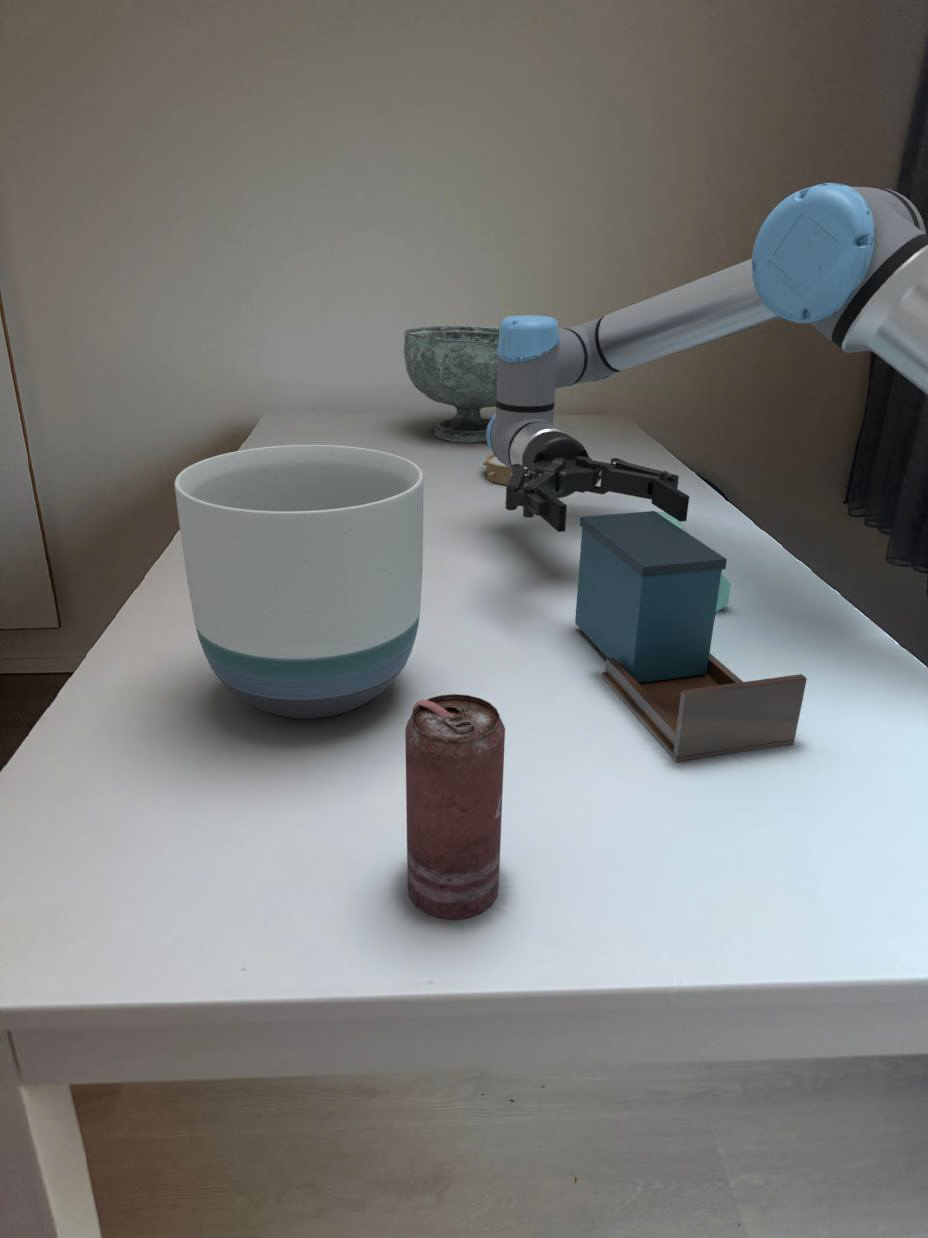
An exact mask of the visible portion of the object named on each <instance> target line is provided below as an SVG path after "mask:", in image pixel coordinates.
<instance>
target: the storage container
mask: <svg viewBox="0 0 928 1238" xmlns="http://www.w3.org/2000/svg"><path fill="white" fill-rule="evenodd" d="M657 512H658V511H655V510H649V511H648V510H647V511H638V512H637V511H636V512H625V513H612V514H611V513H610V514H600V515H599V514H598V515H586V516H580V517H579V527H580V528H581V539H580V551H579V564H578V565H579V567H578V580H577V591H576V604H575V605H576V606H575V619H574V624H575V625H576V626H577V627H578V628H579V629H580V630H581V631H582V632H583V634H584V635H585V636H586V637H588V639H589V640H590V641H591V642H592V643H593V644H594V645H595V646H596V648H597V649H599V651H600V652H601V653H602V655H604V656H605V657H606V659H607V658H612V657H614V658H615V659H616V660H617V661H618V662H619V663H620V664H621V665H622V667H623V668H624V669H625V670H626V671H627V672H628V673H629V674H630V675H631V676H632V677H633V678H634V679H635V680H636V681H637V682H638V683H643V682H650V681H658V680H665V679H673V678H681V677H688V676H696V675H704V674H707V667H708V660H709V654H711V647H712V641H713V640H712V639H713V633H714V625H715V620H716V613H717V612H716V606H717V599H718V592H719V586H720V579H721V574H722V571H723V570H726V566H727V558H726V557H724V556H723V555H721V554H719V553H718V552H717V551H715V550H714V549H712V548H711V547H710V546H709V545H708V546H707V545H706V544H705V543H703V542H702V541H700V540H699V539H698V538H695V537H694V536H693V535H691V534H690V533H689V532H688V531H687V532H688V533H687V532H685V531H684V530H682V529H681V528H679V527H678V526H676V525H675V524H673V523H672V522H670V521H669V520H667V519H666V518H664V517H663V516H661V515H660V514H658V513H657Z"/></svg>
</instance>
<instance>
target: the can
mask: <svg viewBox="0 0 928 1238" xmlns="http://www.w3.org/2000/svg"><path fill="white" fill-rule="evenodd" d="M404 730H405V731H404V734H405V735H404V736H405V738H404V739H405V742H404V743H405V801H406V803H405V804H406V805H405V806H406V809H405V811H406V863H407V865H406V872H407V873H406V876H407V878H406V879H407V881H406V883H407V892H408V897H409V898H410V900H411V901H412V903H413V904H414V906H415V907H416V908H417V909H419V910H421V912H424V913H425V914H426V915H429V916H432V917H434V918H438V919H443V920H453V921H457V920H465V919H470V918H472V917H475V916H478V915H480V914H482V913H483V912H485V911H486V910H488V909H489V908H490V907H492V906H493V904H494V903H495V900H496V899H497V898H498V896H499V887H500V868H501V867H500V866H501V864H500V863H501V844H502V843H501V840H502V839H501V838H502V818H503V817H502V816H503V813H502V812H503V791H504V790H503V789H504V769H505V768H504V767H505V766H504V764H505V742H506V727H505V725H504V722H503V720H502V718H501V715H500V712H499V711H498V709H497V708H496V707H495V706H494V705H493V704H492V703H491V702H489V701H487V700H485V699H483V698H482V697H481V698H480V697H477V696H474V695H473V696H472V695H468V694H460V693H459V694H458V693H450V694H441V695H437V696H432V697H429V698H427V699H425V698H423V699H420V700H419V701H416V702H415V704H414V705H413V707H412V712H411V714H410V717H409V718H408V720H407V723H406V726H405V729H404Z"/></svg>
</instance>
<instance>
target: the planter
mask: <svg viewBox="0 0 928 1238" xmlns="http://www.w3.org/2000/svg"><path fill="white" fill-rule="evenodd" d="M174 491H175V492H174V493H175V500H176V508H177V515H178V516H177V517H178V523H179V531H180V538H181V539H180V541H181V547H182V553H183V561H184V567H185V575H186V581H187V587H188V593H189V598H190V604H191V609H192V615H193V622H194V625H195V629H196V633H197V637H198V640H199V643H200V646H201V649H202V651H203V654H204V656H205V658H206V659H207V662H208V665H209V667H210V668H211V670H212V671H213V673H214V674H215V676H216V677H217V679H218V680H219V681H220V682H221V683H222V684H223V685H224V687H225V688H226V689H228V690H229V691H230V692H231V693H233V694H234V695H235V696H237V697H238V698H239V699H240V700H242V701H244V702H245V703H247V704H249V705H250V706H253V707H255V708H258V709H260V710H262V711H265V712H267V713H270V714H273V715H277V716H279V717H286V718H292V719H321V718H328V717H332V716H337V715H341V714H344V713H347V712H350V711H352V710H354V709H357V708H359V707H362V706H363V705H365V704H366V703H368V702H370V701H371V700H373V699H374V698H376V697H377V696H378V695H380V694H381V693H382V692H384V691H385V690H386V689H387V688H388V687H389V686H390V685H392V683H393V682H394V681H395V680H396V679H397V678H398V677H399V675H400V674H401V672H402V671H403V669H404V668H405V666H406V665H407V662H408V660H409V658H410V656H411V654H412V651H413V647H414V644H415V641H416V637H417V634H418V630H419V626H420V625H419V624H420V614H421V606H422V605H421V603H422V587H423V586H422V585H423V567H424V566H423V563H424V562H423V560H424V473H423V471H422V469H421V468H420V467H419V465H417V464H416V463H414V462H413V461H411V460H409V459H407V458H404V457H402V456H400V455H396V454H393V453H390V452H387V451H386V452H385V451H382V450H378V449H377V450H376V449H371V448H364V447H358V446H357V447H356V446H349V445H331V444H289V445H288V444H287V445H275V446H264V447H256V448H249V449H243V450H236V451H231V452H226V453H222V454H219V455H215V456H212V457H208V458H205V459H201V460H200V461H197V462H195V463H192V464H191V465H189V466H187V467H186V468H184V469H183V470H181V472H179V473H178V475H177V476H176V477H175V480H174Z"/></svg>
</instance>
